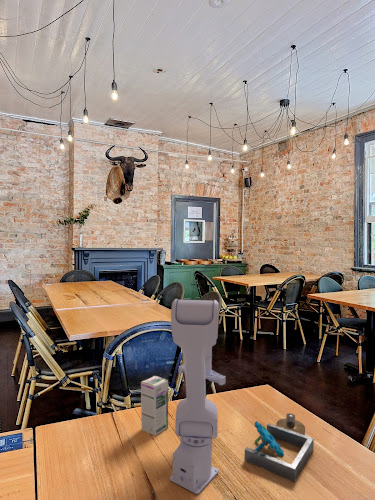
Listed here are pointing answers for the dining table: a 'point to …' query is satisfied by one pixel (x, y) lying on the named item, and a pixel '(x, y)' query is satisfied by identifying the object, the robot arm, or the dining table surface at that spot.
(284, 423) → the call bell
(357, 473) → the dining table surface
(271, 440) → the gear
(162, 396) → the syrup box
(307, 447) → the frame
